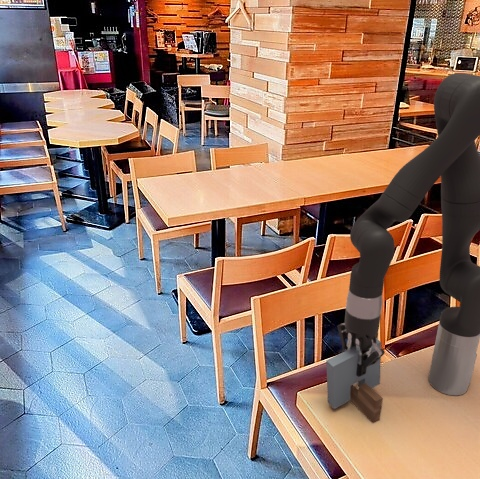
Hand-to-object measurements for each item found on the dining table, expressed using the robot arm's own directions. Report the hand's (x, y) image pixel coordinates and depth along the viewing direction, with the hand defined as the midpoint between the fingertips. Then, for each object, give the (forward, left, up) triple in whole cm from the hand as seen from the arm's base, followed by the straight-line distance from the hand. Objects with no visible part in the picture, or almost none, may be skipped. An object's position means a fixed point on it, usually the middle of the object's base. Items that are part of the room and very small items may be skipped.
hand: (356, 371), depth 107 cm
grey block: (0, 0, -7) cm, 7 cm away
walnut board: (0, 0, -9) cm, 9 cm away
